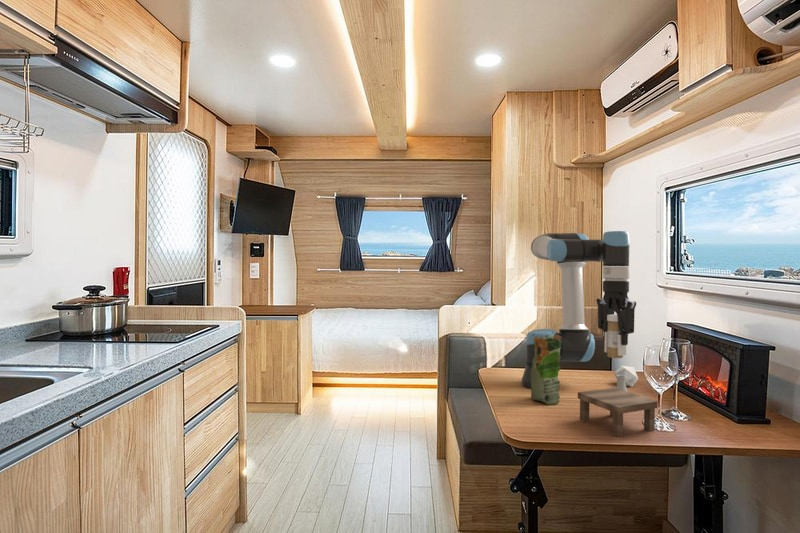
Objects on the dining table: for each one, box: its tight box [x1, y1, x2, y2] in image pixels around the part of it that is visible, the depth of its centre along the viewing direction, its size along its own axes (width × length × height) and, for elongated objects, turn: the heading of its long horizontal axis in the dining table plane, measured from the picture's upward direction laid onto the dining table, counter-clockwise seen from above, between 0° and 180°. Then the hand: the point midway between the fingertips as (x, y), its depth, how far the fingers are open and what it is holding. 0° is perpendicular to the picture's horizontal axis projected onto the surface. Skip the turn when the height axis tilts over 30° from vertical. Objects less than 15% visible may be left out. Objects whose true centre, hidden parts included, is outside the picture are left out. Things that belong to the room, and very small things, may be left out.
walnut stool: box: [577, 386, 658, 438], centre depth 137 cm, size 16×16×9 cm
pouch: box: [530, 335, 562, 406], centre depth 161 cm, size 11×12×25 cm
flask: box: [615, 375, 629, 392], centre depth 159 cm, size 7×7×10 cm
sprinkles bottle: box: [606, 313, 624, 359], centre depth 137 cm, size 5×5×14 cm
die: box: [614, 365, 639, 388], centre depth 183 cm, size 8×9×10 cm
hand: (615, 353), depth 137 cm, fingers closed on sprinkles bottle, 4 cm apart
